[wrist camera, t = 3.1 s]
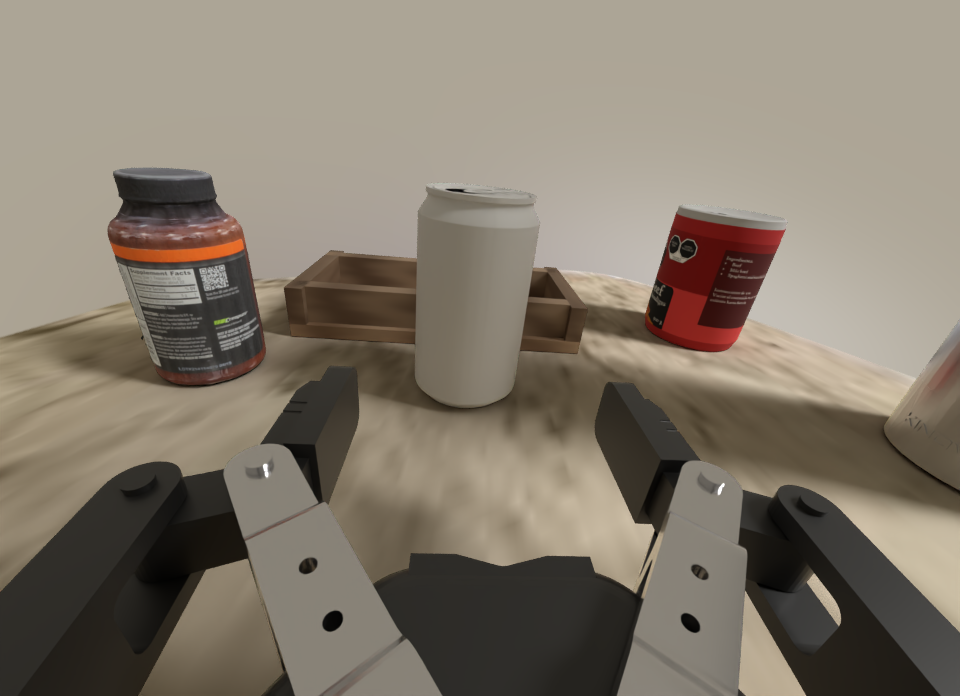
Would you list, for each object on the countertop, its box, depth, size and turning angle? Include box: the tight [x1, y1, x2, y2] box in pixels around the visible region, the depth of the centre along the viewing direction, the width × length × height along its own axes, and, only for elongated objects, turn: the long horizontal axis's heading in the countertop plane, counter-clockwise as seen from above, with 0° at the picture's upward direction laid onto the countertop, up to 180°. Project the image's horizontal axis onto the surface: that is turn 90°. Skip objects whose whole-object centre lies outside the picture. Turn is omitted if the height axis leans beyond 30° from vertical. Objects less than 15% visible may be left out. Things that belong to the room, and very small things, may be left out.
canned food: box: [645, 205, 788, 352], centre depth 34 cm, size 8×8×11 cm
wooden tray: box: [284, 250, 588, 353], centre depth 34 cm, size 22×11×4 cm, turn 92°
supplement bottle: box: [108, 168, 266, 385], centre depth 22 cm, size 6×6×11 cm
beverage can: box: [415, 183, 540, 408], centre depth 22 cm, size 6×6×12 cm
